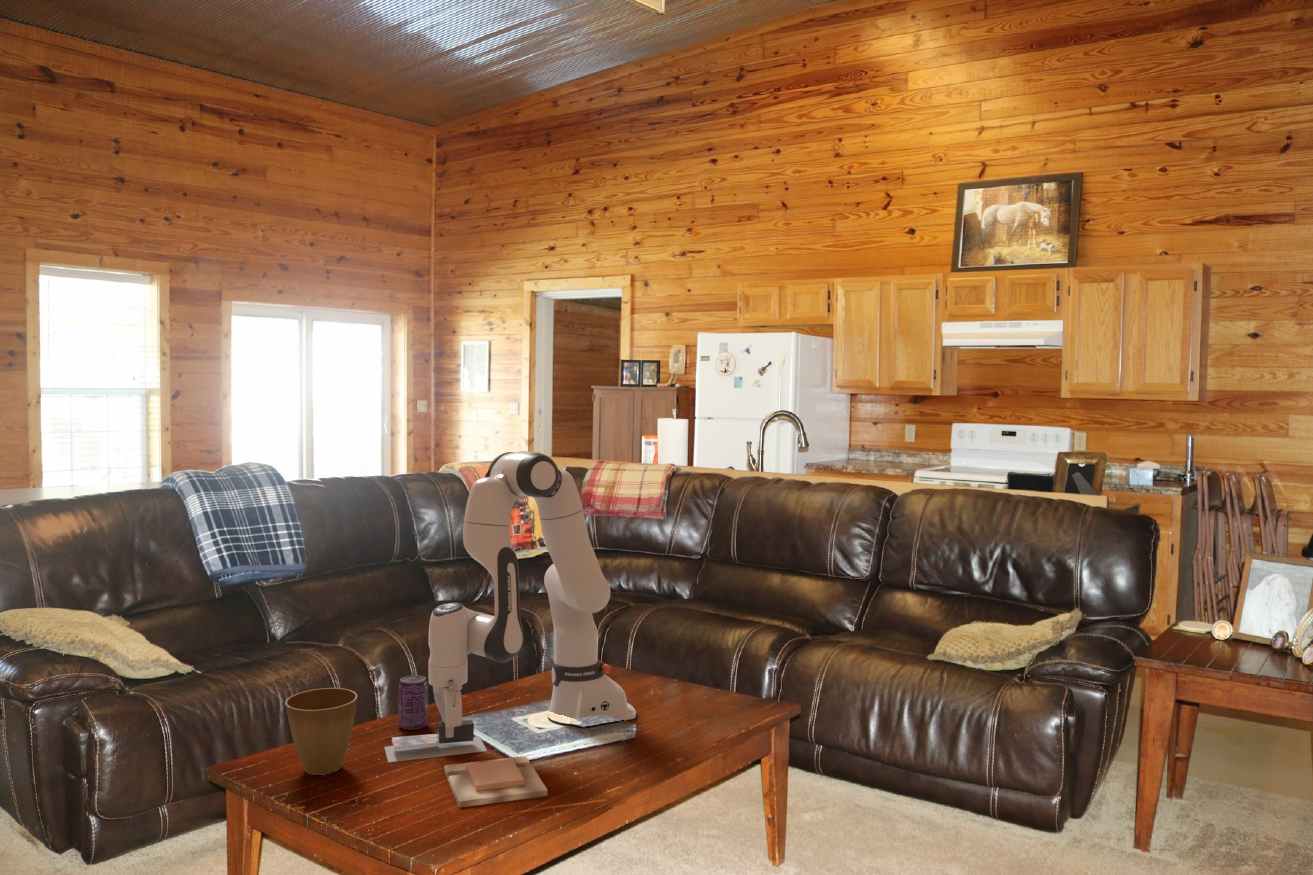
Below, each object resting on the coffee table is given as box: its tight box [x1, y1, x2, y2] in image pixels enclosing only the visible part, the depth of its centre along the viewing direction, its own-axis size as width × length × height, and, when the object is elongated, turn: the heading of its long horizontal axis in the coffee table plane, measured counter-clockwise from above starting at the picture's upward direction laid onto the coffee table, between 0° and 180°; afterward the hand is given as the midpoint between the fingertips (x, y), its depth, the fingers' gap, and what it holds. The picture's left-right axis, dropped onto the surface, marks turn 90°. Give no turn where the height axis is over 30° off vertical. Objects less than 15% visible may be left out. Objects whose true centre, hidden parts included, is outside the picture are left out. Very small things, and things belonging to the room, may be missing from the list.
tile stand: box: [444, 755, 548, 808], centre depth 214 cm, size 18×20×2 cm
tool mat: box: [384, 736, 488, 765], centre depth 234 cm, size 22×10×1 cm, turn 110°
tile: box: [466, 759, 524, 791], centre depth 214 cm, size 10×1×12 cm
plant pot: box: [284, 687, 358, 775], centre depth 221 cm, size 15×15×16 cm
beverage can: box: [397, 674, 429, 731], centre depth 249 cm, size 7×7×12 cm
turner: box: [391, 719, 475, 750], centre depth 234 cm, size 18×6×4 cm, turn 110°
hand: (447, 733), depth 235 cm, fingers closed on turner, 3 cm apart
